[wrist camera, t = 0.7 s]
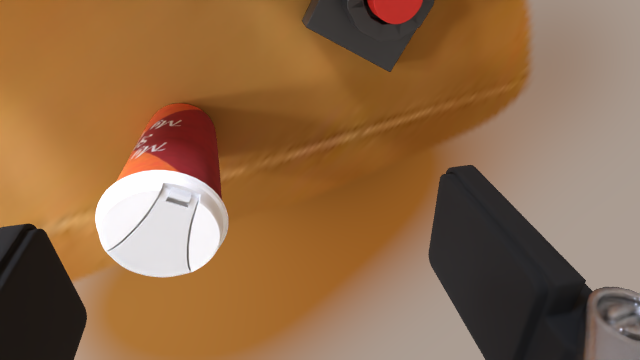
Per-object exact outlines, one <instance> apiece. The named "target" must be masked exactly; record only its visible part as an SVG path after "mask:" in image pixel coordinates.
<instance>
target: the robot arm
mask: <svg viewBox="0 0 640 360" xmlns="http://www.w3.org/2000/svg"><path fill="white" fill-rule="evenodd" d="M429 260H430V264H431V266H432V268H433V270H434V272H435V273H436V275H437V277H438V278H439V280H440V282H441V284H442V285H443V287H444V289H445V290H446V292H447V294H448V296H449V297H450V299H451V301H452V303H453V304H454V306H455V308H456V309H457V311H458V313H459V315H460V316H461V318H462V320H463V322H464V323H465V325H466V326H467V329H468V330H469V332H470V334H471V335H472V337H473V339H474V341H475V342H476V344H477V346H478V348H479V349H480V351H481V353H482V354H483V356H484V358H485V360H640V294H639V293H637V292H634V291H632V290H628V289H624V288H619V287H603V288H599V289H596V290H594V291H592V290H591V289H590V288H589V287H588V286H587V285H586V284H585V281H586V280H585V279H584V278H583V277H582V276H581V275H580V274H579V273H578V272H577V271H576V270H575V269H574V268H573V267H572V266H571V265H570V264H569V263H568V262H567V261H566V260H565V259H564V258H563V257H562V256H561V255H560V254H559V253H558V251H556V250H555V249H554V247H552V245H551V244H550V243H549V242H548V241H546V239H545V238H544V237H543V236H542V235H541V234H540V233H539V232H538V231H537V230H536V229H535V228H534V227H533V226H532V225H531V224H530V223H529V222H528V221H527V220H526V219H525V218H524V217H523V216H522V215H521V214H520V213H519V212H518V211H517V210H516V209H515V208H514V206H513V205H511V203H510V202H509V201H508V200H507V199H506V198H505V197H504V196H503V195H502V194H501V193H500V192H499V191H498V190H497V189H496V188H495V187H494V186H493V185H492V184H491V183H490V182H489V181H488V180H487V179H486V178H485V177H484V176H483V175H482V174H481V173H480V172H479V171H478V170H477V169H476V168H475V167H474V166H473V165H467V166H459V167H452V168H449V169H448V170H447V172H446V174H443V175H442V176H441V177H440V182H439V189H438V195H437V202H436V208H435V215H434V221H433V228H432V234H431V241H430V248H429ZM86 320H87V315H86V309H85V307H84V305H83V303H82V301H81V299H80V297H79V295H78V293H77V291H76V290H75V288H74V286H73V284H72V282H71V280H70V278H69V276H68V274H67V272H66V270H65V268H64V266H63V265H62V263H61V261H60V259H59V257H58V255H57V253H56V251H55V249H54V247H53V245H52V243H51V241H50V240H49V238H48V236H47V234H46V232H45V231H44V230H43V229H37V228H36V227H35V226H34V225H32V224H22V225H15V226H7V227H1V228H0V360H74V357H75V354H76V351H77V349H78V345H79V343H80V340H81V337H82V334H83V331H84V328H85V325H86Z"/></svg>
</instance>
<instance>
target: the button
mask: <svg viewBox="0 0 640 360" xmlns="http://www.w3.org/2000/svg"><path fill="white" fill-rule="evenodd" d="M367 2H368V6H369V8H370V10H371V11H372V12H373V13H374V14H375V15H376V16H377V17H379V18H380V19H382V20H383V21H385V22H387V23H390V24H401V23H404V22H406V21H408V20H410V19H411V18H412V17H413V16H414V15H415V14H416V13H417V12H418V10H419V9H420V7H421V5H422V2H423V0H367Z"/></svg>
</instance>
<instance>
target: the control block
mask: <svg viewBox="0 0 640 360" xmlns="http://www.w3.org/2000/svg"><path fill="white" fill-rule="evenodd" d="M433 4H434V0H423V2H422V5H421V7H420V9H419V10H418V12H417V13H416V14H415V15H414V16H413V17H412V18H411V19H410V20H408V21H406V22H404V23H401V24H390V23H387V22H385V21H383V20H382V19H380V18H379V17H377V16H376V15H375V14H374V13H373V12H372V11H371V10H370V8H369V6H368V2H367V0H312V1H311V3H310V5H309V7H308V9H307V11H306V13H305V15H304V17H303V19H302V22H303V23H304V25H305V26H306V27H307V28H309V29H310V30H312V31H314V32H316V33H318V34H320V35H322V36H323V37H325V38H327V39H329V40H331V41H333V42H335V43H337V44H338V45H340V46H342V47H344V48H346V49H348V50H350V51H351V52H353V53H355V54H357V55H359V56H361V57H363V58H364V59H366V60H368V61H370V62H372V63H374V64H376V65H378V66H379V67H381V68H383V69H385V70H387V71H389V72H391V70H392V68H393V67H394V65H395V63H396V62H397V60H398V59H399V57H400V55H401V54H402V52H403V50H404V49H405V47H406V46H407V44H408V42H409V41H410V39H411V37H412V36H413V34H414V33H415V31H416V29H417V28H418V27H420V26H421V24H422V23H423V21H424V19H425V18H426V16H427V15H428V13H429V11H430V10H431V8H432V6H433Z"/></svg>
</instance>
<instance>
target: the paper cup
mask: <svg viewBox="0 0 640 360" xmlns="http://www.w3.org/2000/svg"><path fill="white" fill-rule="evenodd" d="M95 222H96V226H97V230H98V233H99V237H100V241H101V244H102V246H103V248H104V250H105V251H106V252H107V253H108V254H109V255H110V256H111V257H112V258H113V259H114V260H115V261H116V262H117V263H119V264H120V265H121V266H123V267H124V268H126V269H128V270H130V271H133V272H135V273H138V274H142V275H147V276H153V277H172V276H177V275H182V274H186V273H190V271H191V272H193V271H195V270H197V269H198V268H200V267H202V266H203V265H204V264H206V263H207V262H208V261H209V260H210V259H211V258H212V257H213V256H214V254H215V253H216V251H217V250H218V248H219V247H220V246H221V244H222V242H223V241H224V239H225V237H226V234H227V230H228V214H227V210H226V208H225V205H224V203H223V201H222V196H221V183H220V170H219V158H218V147H217V138H216V132H215V127H214V125H213V123H212V121H211V119H210V118H209V116H208V115H207V114H206V113H205V112H203V111H202V110H201V109H199V108H197V107H195V106H192V105H189V104H183V103H176V104H170V105H167V106H165V107H163V108H161V109H160V110H158V111H157V112H156V113H155V114H154V115H153V117H152V118H151V120H150V121H149V123H148V125H147V126H146V128H145V130H144V132H143V133H142V135H141V137H140V139H139V141H138V142H137V144H136V146H135V148H134V150H133V152H132V153H131V155H130V157H129V159H128V161H127V163H126V165H125V166H124V168H123V170H122V172H121V174H120V176H119V178H118V179H117V181H116V183H114V184H113V185H112V186H111V187H109V188H108V189H107V190H106V192H105V193H104V194H103V196H102V197H101V199H100V201H99V203H98V205H97V209H96V218H95Z"/></svg>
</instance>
